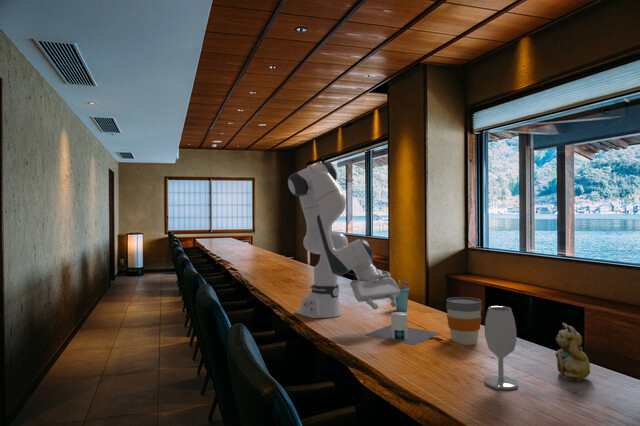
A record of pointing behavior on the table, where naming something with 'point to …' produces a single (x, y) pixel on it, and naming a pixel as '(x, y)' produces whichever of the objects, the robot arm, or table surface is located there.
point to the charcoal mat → (413, 336)
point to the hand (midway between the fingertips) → (385, 307)
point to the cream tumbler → (399, 324)
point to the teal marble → (399, 334)
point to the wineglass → (500, 343)
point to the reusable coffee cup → (464, 319)
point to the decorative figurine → (571, 355)
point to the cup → (402, 298)
